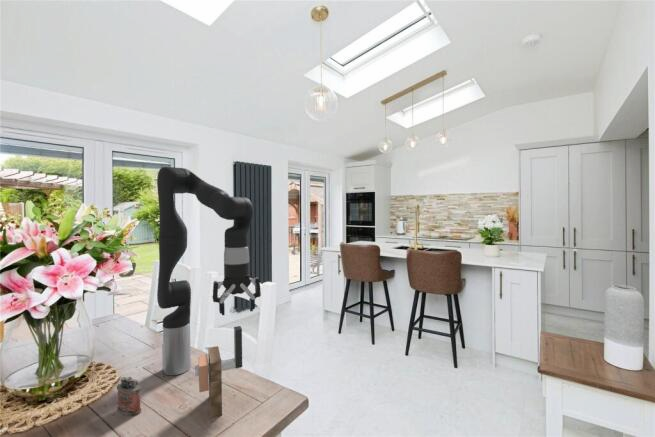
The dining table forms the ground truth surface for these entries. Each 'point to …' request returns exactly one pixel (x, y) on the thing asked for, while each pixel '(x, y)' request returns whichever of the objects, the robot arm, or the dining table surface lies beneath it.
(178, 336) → the robot arm
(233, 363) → the l-shaped bracket
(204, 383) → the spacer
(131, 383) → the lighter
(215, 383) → the block
